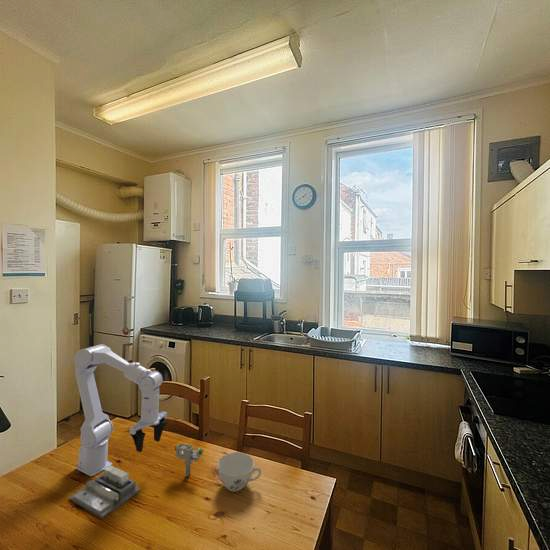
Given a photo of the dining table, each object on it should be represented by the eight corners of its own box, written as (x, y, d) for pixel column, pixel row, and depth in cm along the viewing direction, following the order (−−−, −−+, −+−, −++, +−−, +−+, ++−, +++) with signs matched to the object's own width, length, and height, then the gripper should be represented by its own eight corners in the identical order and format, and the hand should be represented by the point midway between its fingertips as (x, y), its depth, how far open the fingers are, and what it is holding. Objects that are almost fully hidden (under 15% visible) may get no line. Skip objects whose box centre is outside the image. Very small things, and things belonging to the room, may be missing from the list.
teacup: (212, 498, 95) (213, 473, 95) (220, 473, 107) (221, 451, 107) (258, 501, 94) (259, 476, 94) (261, 475, 107) (262, 453, 107)
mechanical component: (198, 480, 103) (200, 451, 103) (172, 475, 105) (173, 447, 105) (202, 475, 106) (204, 446, 106) (176, 470, 108) (178, 442, 108)
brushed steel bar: (102, 484, 98) (103, 469, 98) (109, 480, 100) (110, 465, 100) (121, 493, 94) (121, 477, 94) (127, 489, 96) (128, 473, 96)
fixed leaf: (69, 499, 92) (69, 488, 92) (108, 475, 103) (108, 466, 104) (102, 519, 85) (102, 507, 85) (140, 491, 97) (140, 481, 97)
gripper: (140, 417, 97) (138, 459, 96) (173, 402, 110) (172, 439, 109) (126, 413, 100) (124, 453, 99) (160, 398, 113) (158, 434, 112)
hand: (148, 445), depth 105 cm, fingers open, 7 cm apart
